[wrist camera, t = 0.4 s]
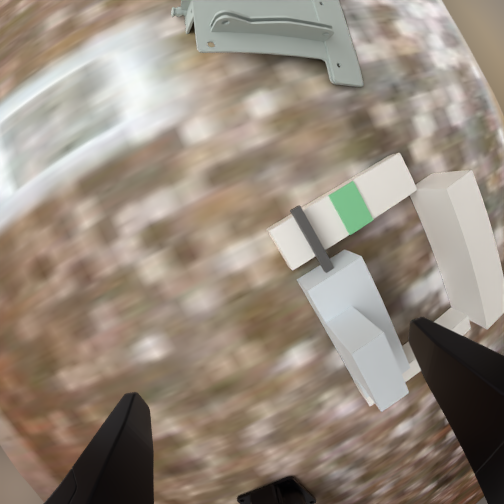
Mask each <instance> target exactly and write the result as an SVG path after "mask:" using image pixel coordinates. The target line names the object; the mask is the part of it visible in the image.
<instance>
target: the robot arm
mask: <svg viewBox="0 0 504 504" xmlns="http://www.w3.org/2000/svg"><path fill="white" fill-rule="evenodd" d="M408 340H409V344H410V347H411V349H412V351H413V353H414V355H415V358H416V360H417V362H418V364H419V367H420V369H421V371H422V374H423V376H424V378H425V380H426V382H427V384H428V386H429V388H430V389H431V391H432V393H433V395H434V397H435V398H436V400H437V402H438V404H439V405H440V407H441V409H442V411H443V413H444V415H445V416H446V418H447V420H448V422H449V424H450V426H451V428H452V430H453V431H454V433H455V435H456V437H457V439H458V441H459V443H460V445H461V447H462V449H463V451H464V453H465V455H466V457H467V459H468V461H469V463H470V465H471V467H472V469H473V472H474V473H475V476H476V478H477V480H478V483H479V485H480V487H481V489H482V491H483V494H484V496H485V498H486V500H487V503H488V504H504V356H503V355H501V354H499V353H497V352H495V351H493V350H491V349H489V348H487V347H485V346H483V345H481V344H479V343H477V342H474V341H472V340H470V339H468V338H466V337H464V336H462V335H460V334H458V333H456V332H454V331H452V330H450V329H448V328H446V327H443V326H441V325H439V324H437V323H435V322H433V321H431V320H429V319H427V318H425V317H419V318H416V319H414V320H412V321H411V322H410V329H409V337H408ZM237 501H238V502H239V503H240V504H314V503H316V499H315V497H313V496H312V495H311V494H310V493H309V492H308V491H307V490H306V489H305V488H304V487H303V486H302V485H301V484H300V483H298V482H297V481H296V480H295V479H294V478H293V477H286V478H284V479H281V480H279V481H277V482H274V483H272V484H269V485H267V486H264V487H262V488H259V489H257V490H254V491H252V492H249V493H246V494H243V495H240V496H238V497H237ZM44 504H154V489H153V440H152V429H151V417H150V409H149V407H148V405H147V404H146V403H145V401H144V400H143V399H142V398H141V396H140V395H139V394H138V393H137V392H132V393H126V394H125V395H124V396H123V397H122V398H121V400H120V401H119V403H118V404H117V405H116V407H115V408H114V410H113V411H112V412H111V414H110V415H109V416H108V418H107V419H106V421H105V422H104V423H103V425H102V426H101V428H100V429H99V430H98V432H97V433H96V435H95V436H94V437H93V439H92V440H91V442H90V443H89V444H88V446H87V447H86V449H85V450H84V451H83V453H82V454H81V456H80V457H79V458H78V460H77V461H76V463H75V464H74V466H73V467H72V469H71V470H70V471H69V473H68V474H67V475H66V477H65V478H64V479H63V481H62V482H61V484H60V485H59V486H58V487H57V489H56V490H55V491H54V492H53V493H52V495H51V496H50V497H49V498H48V499H47V500H46V502H45V503H44Z"/></svg>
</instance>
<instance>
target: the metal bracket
mask: <svg viewBox="0 0 504 504" xmlns="http://www.w3.org/2000/svg"><path fill="white" fill-rule="evenodd" d="M320 3H321V4H322V5H321V4H320ZM182 15H184V17H185V25H186V34H189V32H190V29H191V27H192V24H193V22H194V26H195V35H196V44H197V49H198V51H199V52H202V53H257V54H274V55H286V56H297V57H306V58H314V59H321V60H323V61H325V63H326V66H327V70H328V74H329V79H330V81H331V82H332V83H333V84H338V85H347V86H354V87H362V86H363V85H364V84H363V79H362V75H361V71H360V67H359V63H358V59H357V55H356V51H355V49H354V47H353V44H352V40H351V37H350V34H349V30H348V27H347V24H346V21H345V18H344V15H343V12H342V9H341V6H340V3H339V0H181V7H177V8H174V7H172V10H171V16H172V17H174V16H177V17H181V16H182ZM208 42H213V43H214V44H215V47H209V46H208V45H207V43H208ZM337 64H338V65H339V67H340V68H339V67H338V66H337Z"/></svg>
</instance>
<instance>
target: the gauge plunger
mask: <svg viewBox="0 0 504 504" xmlns="http://www.w3.org/2000/svg"><path fill="white" fill-rule="evenodd" d="M290 212H291V214H292V215H293V217H294V219H295V221H296V222H297V224H298V226H299V228H300V229H301V231H302V233H303V235H304V236H305V238H306V240H307V242H308V243H309V245H310V247H311V249H312V251H313V252H314V254H315V256H316V258H317V260H318V261H319V263H320V265H319V266H318V267H316V268H314V269H313V270H311V271H310V272H308V273H306V274H305V275H303V276H302V277H300V278H298V279H297V281H298V283H299V285H300V286H301V288H302V290H303V292H304V293H305V295H306V297H307V299H308V300H309V302H310V304H311V305H312V307H313V309H314V311H315V312H316V314H317V316H318V318H319V319H320V321H321V323H322V325H323V326H324V328H325V330H326V332H327V334H328V335H329V337H330V339H331V341H332V342H333V344H334V346H335V348H336V350H337V351H338V353H339V355H340V357H341V358H342V360H343V362H344V364H345V366H346V367H347V369H348V371H349V373H350V375H351V376H352V378H353V380H354V381H355V383H356V384H357V385H358V387H359V388H360V389H361V391H362V392H363V394H364V395H365V396H366V398H368V397H369V396H370V397H371V399H372V400H373V401H374V403H375V404H376V405H377V407H378V408H379V410H380V411H381V412H382V411H384V410H385V409H387V408H388V407H390V406H391V405H393V404H394V403H395V402H397V401H398V400H400V399H401V398H403V397H404V396H405V395H407V394H408V393H409V391H408V389H407V386H406V384H405V381H404V379H403V376H402V374H403V373H404V372H405V371H407V370H408V369H409V368H410V365H409V363H408V360H407V358H406V355H405V353H404V350H403V348H402V345H401V343H400V340H399V338H398V335H397V333H396V331H395V328H394V326H393V324H392V321H391V319H390V317H389V314H388V312H387V310H386V307H385V305H384V303H383V301H382V298H381V296H380V294H379V292H378V290H377V287H376V285H375V283H374V281H373V279H372V277H371V275H370V273H369V270H368V268H367V266H366V264H365V262H364V260H363V258H362V256H360V255H357V254H355V253H352V252H350V251H347V250H345V249H344V250H343V251H341V252H340V253H338V254H336V255H335V256H333V257H332V258H330V259H329V257H328V255H327V253H326V251H325V250H324V248H323V246H322V244H321V242H320V240H319V239H318V237H317V235H316V233H315V231H314V229H313V228H312V226H311V224H310V222H309V221H308V219H307V217H306V215H305V213H304V212H303V210H302V208H301V206H296V207H295V208H293V209H291V210H290Z"/></svg>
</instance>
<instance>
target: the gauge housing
mask: <svg viewBox="0 0 504 504" xmlns="http://www.w3.org/2000/svg"><path fill="white" fill-rule="evenodd" d="M409 195H410V198H411V200H412V202H413V204H414V207H415V209H416V211H417V213H418V216H419V218H420V221H421V223H422V225H423V228H424V230H425V233H426V235H427V238H428V240H429V243H430V246H431V248H432V251H433V254H434V256H435V259H436V262H437V265H438V268H439V270H440V273H441V276H442V279H443V282H444V285H445V289H446V292H447V295H448V298H449V301H450V305H451V308H450V309H448V310H447V311H446V312H445V313H444V314H442V315H441V316H440V317H439V318H438V319H436V320H435V321H434V322H435V323H437V324H439V325H441V326H443V327H446V328H448V329H450V330H452V331H454V332H456V333H458V334H460V335H462V336H463V335H464V334H466V333H467V332H468V331H469V330H470V329H471V326H470V322H469V320H470V321H472V322H474V323H476V324H478V325H480V326H481V327H483V328H485V329H488V328H489V327H490V326H491V325H492V324H493V323H494V322H495V321H496V320H497V319H498V318H499V317H500V316H501V315H502V314H503V313H504V277H503V272H502V267H501V263H500V258H499V254H498V250H497V246H496V242H495V238H494V235H493V231H492V228H491V224H490V221H489V218H488V214H487V211H486V208H485V205H484V202H483V199H482V196H481V193H480V190H479V188H478V185H477V182H476V179H475V177H474V174H473V172H472V170H464V171H453V172H442V173H432V174H430V175H429V176H427V177H426V178H425V179H423V180H422V181H420V182H419V183H417V184H416V185H415V183H414V181H413V179H412V177H411V175H410V172H409V170H408V168H407V166H406V164H405V162H404V160H403V158H402V156H401V154H400V153H397V154H393V155H389V156H388V157H386V158H384V159H383V160H381V161H379V162H378V163H376V164H374V165H372V166H371V167H369V168H367V169H366V170H364V171H362V172H361V173H359V174H357V175H356V176H354V177H352V178H350V179H349V180H347V181H345V182H344V183H342V184H340V185H339V186H337V187H335V188H334V189H332V190H330V191H329V192H327V193H325V194H324V195H322V196H320V197H319V198H317V199H315V200H314V201H312V202H310V203H309V204H307V205H305V206H304V207H302V210H303V212H304V213H305V215H306V217H307V219H308V221H309V222H310V224H311V226H312V228H313V229H314V231H315V233H316V235H317V237H318V239H319V240H320V242H321V244H322V246H323V248H324V250H326V249H328V248H329V247H331V246H333V245H334V244H336V243H337V242H339V241H340V240H342V239H344V238H345V237H347V236H348V235H351V234H353V233H354V232H356V231H358V230H359V229H361V228H362V227H364V226H365V225H367V224H368V223H370V222H371V221H373V219H374V218H376V217H377V216H379V215H381V214H382V213H384V212H385V211H387V210H388V209H390V208H391V207H393V206H394V205H396V204H397V203H399V202H400V201H402V200H403V199H405V198H406V197H408V196H409ZM266 230H267V231H268V233H269V235H270V236H271V238H272V240H273V241H274V243H275V245H276V246H277V248H278V250H279V252H280V253H281V255H282V257H283V258H284V260H285V262H286V263H287V265H288V267H289V268H290V269H291V270H292V271H293V270H294V269H296V268H298V267H299V266H301V265H302V264H304V263H306V262H307V261H309V260H310V259H312V258H314V257H315V254H314V252H313V251H312V249H311V247H310V245H309V243H308V242H307V240H306V238H305V236H304V235H303V233H302V231H301V229H300V228H299V226H298V224H297V222H296V221H295V219H294V217H293V215H292V214H290V215H289V216H287V217H285V218H284V219H282V220H280V221H279V222H277V223H275V224H274V225H272V226H271V227H269V228H267V229H266ZM402 348H403V350H404V353H405V355H406V358H407V360H408V363H409V365H410V368H409V369H408V370H407V371H405V372H404V373H403V374H402V376H403V379H404V381H405V382H406V381H408V380H409V379H410V378H412V377H413V376H415V375H416V374H417V373H418V372H420V371H421V369H420V367H419V364H418V362H417V360H416V358H415V355H414V353H413V351H412V349H411V347H410V344H409V341H408V342H407V343H406V344H404V345H403V346H402ZM353 381H354V380H353ZM354 383H355V381H354ZM355 385H356V386H357V388H358V390H359V392H360V393H361V394H362V396H363V397H364V399H365V400H366V401H367V403H368V404H369V406H371V405H373V404H375V403H374V401H373V400H372V399H371V397H370V396H369V397H368V398H366V396H365V395H364V394H363V392H362V391H361V389H360V388H359V387H358V385H357V384H356V383H355Z"/></svg>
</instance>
